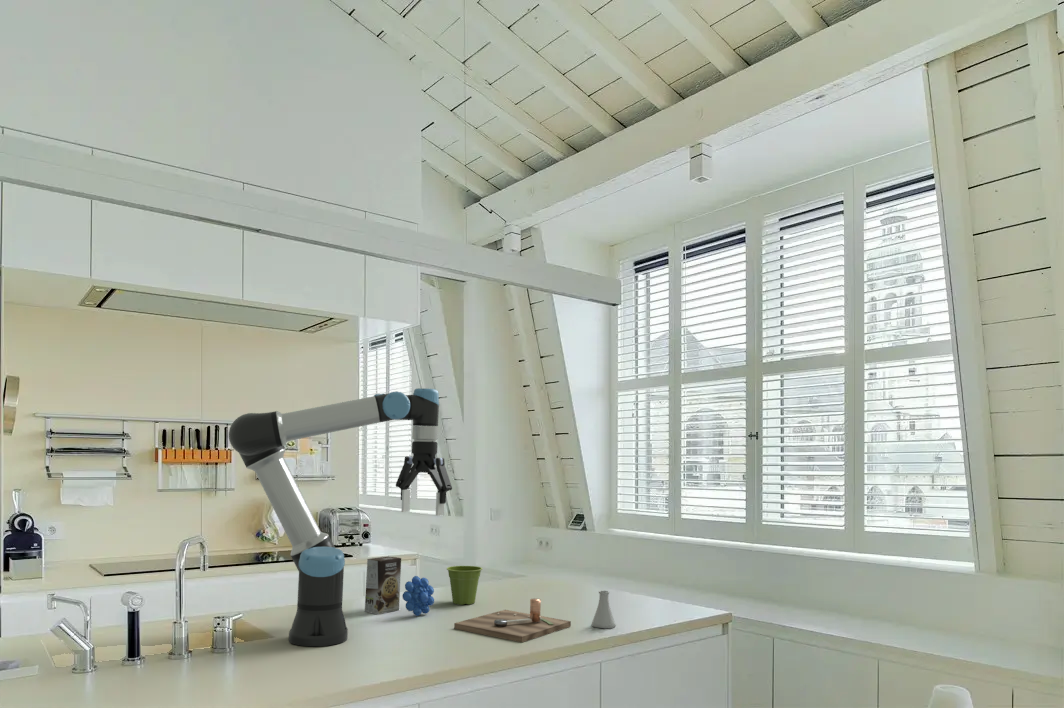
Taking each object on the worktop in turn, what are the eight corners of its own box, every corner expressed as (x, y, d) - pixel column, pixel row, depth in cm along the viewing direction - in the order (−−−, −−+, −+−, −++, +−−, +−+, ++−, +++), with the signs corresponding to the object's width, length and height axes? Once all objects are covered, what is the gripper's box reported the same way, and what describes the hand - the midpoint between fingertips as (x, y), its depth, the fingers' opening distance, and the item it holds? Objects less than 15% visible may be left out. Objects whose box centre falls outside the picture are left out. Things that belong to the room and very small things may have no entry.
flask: (614, 629, 235) (615, 594, 236) (589, 628, 236) (590, 592, 237) (617, 624, 242) (617, 589, 243) (592, 622, 243) (593, 588, 244)
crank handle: (497, 626, 228) (498, 604, 228) (492, 623, 231) (492, 601, 231) (544, 621, 234) (544, 600, 235) (538, 619, 238) (538, 597, 238)
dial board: (522, 642, 218) (522, 635, 218) (454, 628, 232) (454, 622, 232) (570, 626, 238) (570, 620, 238) (505, 614, 251) (505, 608, 252)
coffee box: (378, 614, 247) (380, 560, 249) (363, 611, 251) (366, 558, 253) (400, 610, 255) (402, 557, 256) (386, 607, 258) (388, 555, 260)
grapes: (410, 621, 240) (412, 579, 241) (397, 617, 245) (398, 576, 246) (441, 615, 248) (443, 575, 249) (428, 611, 253) (429, 572, 254)
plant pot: (484, 600, 273) (485, 565, 274) (478, 607, 261) (479, 571, 262) (449, 598, 274) (450, 564, 275) (442, 605, 262) (443, 570, 263)
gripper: (465, 441, 237) (463, 515, 235) (403, 439, 251) (400, 509, 249) (448, 441, 231) (445, 517, 229) (385, 439, 245) (382, 511, 243)
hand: (422, 513), depth 239 cm, fingers open, 13 cm apart
